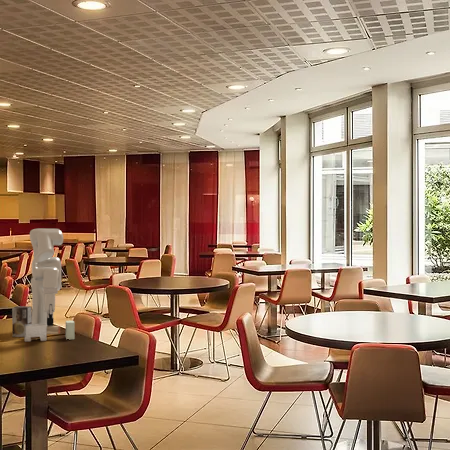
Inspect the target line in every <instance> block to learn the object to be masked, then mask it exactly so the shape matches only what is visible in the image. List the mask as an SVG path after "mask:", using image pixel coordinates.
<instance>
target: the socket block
mask: <svg viewBox="0 0 450 450" xmlns="http://www.w3.org/2000/svg"><path fill="white" fill-rule="evenodd" d="M75 324H76V323H75V321H74V320H65V339H66V340H67V339H69V340H75V331H76V330H75V329H76V328H75Z"/></svg>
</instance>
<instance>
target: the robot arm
mask: <svg viewBox="0 0 450 450" xmlns="http://www.w3.org/2000/svg"><path fill="white" fill-rule="evenodd" d="M29 239H30V243H31V245H32V250H33V258H32V261H31V262H32V263H31V274H32V277H31V279H30V287H31V297H32V299H31V300H32V303H31V304H32V324H46V325H47V326H54V313H55V311H56V310H55V309H56V295H57V294H58V293H59V292H58V291H60V290H61V288H62V262H61V259H60V258H59V257H56V256H54V255H55V249H54V246H61V245H62V244H63V243H64V234H63V232H62V230H60V228H44V227H43V228H34V229H31V230H30V232H29Z"/></svg>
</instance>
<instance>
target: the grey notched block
mask: <svg viewBox="0 0 450 450" xmlns="http://www.w3.org/2000/svg"><path fill="white" fill-rule="evenodd" d="M38 337H39V340H40V342H45V341H47V340H48V339H47V337H48V334H47V325H46V324H25V337H24V342H32V338H38Z"/></svg>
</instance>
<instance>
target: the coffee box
mask: <svg viewBox="0 0 450 450" xmlns="http://www.w3.org/2000/svg"><path fill="white" fill-rule="evenodd" d="M11 309H12V310H11V312H12V313H11V314H12V315H11V316H12V323H11V324H12V330H11V331H12V334H11V335H12V337H14V338H15V337H16V338H17V337H18V338H21V337H24V338H25V324H32V306H28V305H27V306H21V305H20V306H17V305H16V306H14V307H12V308H11Z"/></svg>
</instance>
